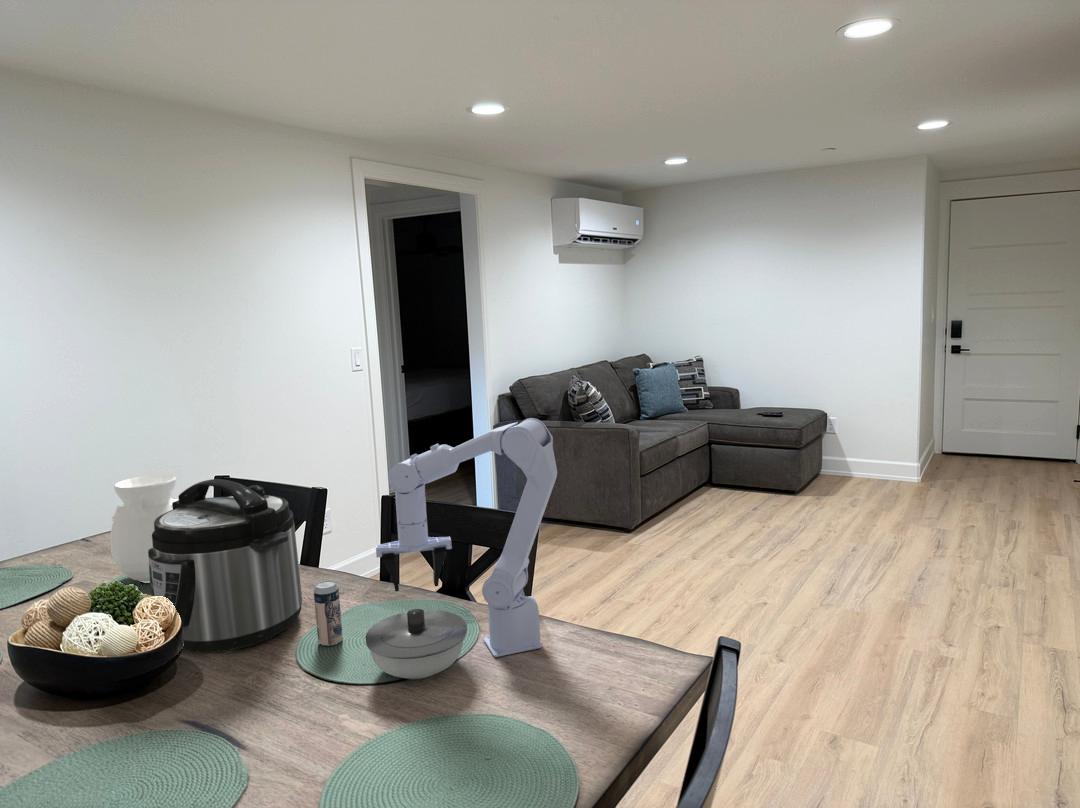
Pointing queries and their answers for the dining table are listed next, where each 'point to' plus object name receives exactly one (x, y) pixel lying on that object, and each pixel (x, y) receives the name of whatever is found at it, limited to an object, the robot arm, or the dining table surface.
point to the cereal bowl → (417, 664)
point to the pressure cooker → (227, 565)
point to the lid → (416, 634)
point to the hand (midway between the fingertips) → (416, 586)
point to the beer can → (328, 613)
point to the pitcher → (138, 521)
